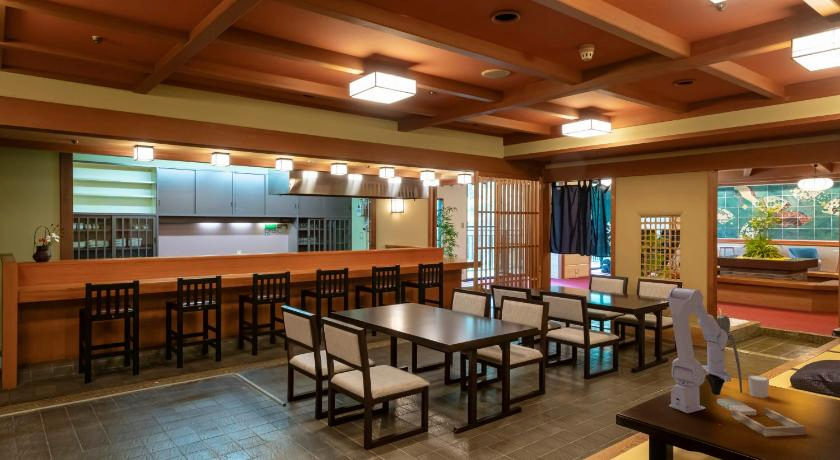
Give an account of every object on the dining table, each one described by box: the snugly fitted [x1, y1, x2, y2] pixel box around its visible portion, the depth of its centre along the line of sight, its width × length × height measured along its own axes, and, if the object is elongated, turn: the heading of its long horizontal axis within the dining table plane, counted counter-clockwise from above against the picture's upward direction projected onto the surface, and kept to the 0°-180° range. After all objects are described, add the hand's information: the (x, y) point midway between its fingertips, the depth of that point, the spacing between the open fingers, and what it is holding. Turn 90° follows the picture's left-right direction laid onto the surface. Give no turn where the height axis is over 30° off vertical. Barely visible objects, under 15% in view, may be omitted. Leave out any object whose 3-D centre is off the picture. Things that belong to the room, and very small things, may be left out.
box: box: [730, 407, 807, 438], centre depth 170 cm, size 16×13×2 cm
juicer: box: [710, 315, 743, 394], centre depth 206 cm, size 10×11×30 cm
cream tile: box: [728, 403, 757, 416], centre depth 182 cm, size 6×6×2 cm
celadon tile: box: [716, 397, 744, 410], centre depth 188 cm, size 6×6×2 cm
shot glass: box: [747, 375, 770, 398], centre depth 197 cm, size 7×7×7 cm
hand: (716, 394), depth 196 cm, fingers closed
